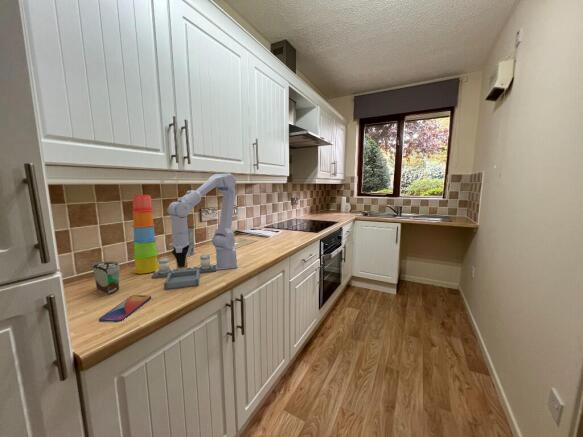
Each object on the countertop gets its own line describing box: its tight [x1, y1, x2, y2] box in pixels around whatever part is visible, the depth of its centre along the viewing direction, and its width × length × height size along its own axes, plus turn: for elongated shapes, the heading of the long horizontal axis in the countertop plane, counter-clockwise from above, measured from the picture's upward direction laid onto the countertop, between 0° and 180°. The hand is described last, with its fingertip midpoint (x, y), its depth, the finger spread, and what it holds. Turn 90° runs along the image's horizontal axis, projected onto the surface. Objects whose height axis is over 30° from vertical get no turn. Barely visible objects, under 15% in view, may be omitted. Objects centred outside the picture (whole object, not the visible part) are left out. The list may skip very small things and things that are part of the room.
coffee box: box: [172, 225, 195, 258], centre depth 134 cm, size 9×6×16 cm
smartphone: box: [98, 294, 152, 323], centre depth 78 cm, size 7×15×1 cm, turn 177°
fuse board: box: [150, 263, 217, 279], centre depth 109 cm, size 26×7×2 cm, turn 109°
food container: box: [92, 260, 122, 296], centre depth 91 cm, size 12×6×10 cm, turn 59°
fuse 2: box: [199, 254, 211, 270], centre depth 112 cm, size 4×4×6 cm
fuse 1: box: [158, 257, 171, 274], centre depth 106 cm, size 4×4×6 cm
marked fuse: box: [175, 254, 189, 271], centre depth 98 cm, size 4×4×6 cm
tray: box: [163, 269, 201, 291], centre depth 99 cm, size 12×12×2 cm
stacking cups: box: [131, 194, 159, 275], centre depth 109 cm, size 10×10×35 cm
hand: (182, 265), depth 98 cm, fingers closed on marked fuse, 4 cm apart
